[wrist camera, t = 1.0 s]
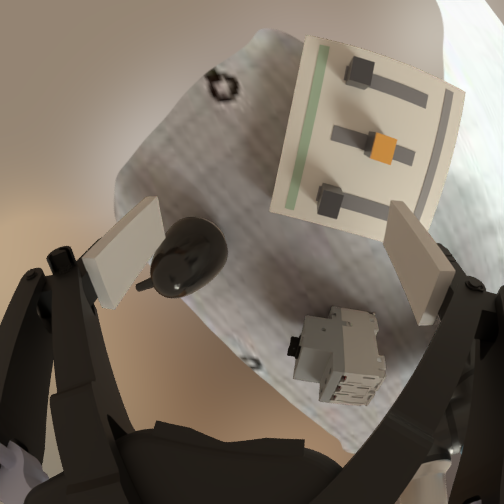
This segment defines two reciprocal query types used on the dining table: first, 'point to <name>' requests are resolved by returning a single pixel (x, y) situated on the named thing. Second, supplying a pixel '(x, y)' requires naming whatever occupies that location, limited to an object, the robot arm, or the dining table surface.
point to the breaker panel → (364, 139)
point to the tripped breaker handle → (380, 147)
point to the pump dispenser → (187, 258)
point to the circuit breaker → (340, 356)
